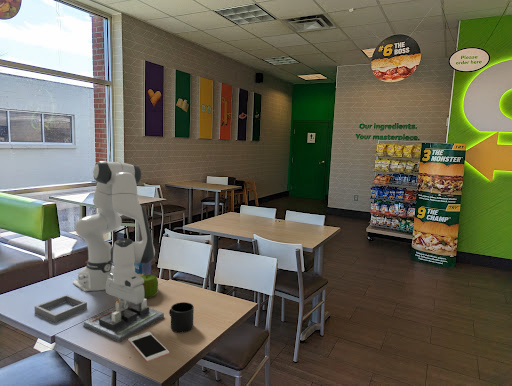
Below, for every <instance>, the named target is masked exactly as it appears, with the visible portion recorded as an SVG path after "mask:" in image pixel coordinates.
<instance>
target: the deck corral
mask: <svg viewBox="0 0 512 386" xmlns="http://www.w3.org/2000/svg"><path fill="white" fill-rule="evenodd" d="M64 303H68V304H71V305H73V306H72V307H70V308H67V309H65V310H62V311H60V312H57V313H55V312H52V311H50V310H49V309H51V307H52V308H53V307H56V306H59V305H61V304H64ZM48 308H49V309H48ZM87 309H88V302H86V301H84V300H81V299H79V298H77V297H74V296H71V295H69V294H65V295H62V296H60V297H57V298H54V299H51V300H48V301H46V302H43V303H40V304H38V305H35V306H34V313H35V314H36V313H37V315H38V314H39V316H41V317H43V318H45V319H47V320H49V321H52V322H53V323H57V322H59V321H61V320H63V319H66V318H68V317H71V316H73V315H75V314H78V313H80V312H82V311H85V310H87Z"/></svg>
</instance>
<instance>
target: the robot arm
mask: <svg viewBox="0 0 512 386" xmlns="http://www.w3.org/2000/svg"><path fill="white" fill-rule="evenodd" d="M92 173H93V174H92V175H93V178H94V180H95V181H96V182H97V183H96V186H95V191H94V194H93V199H92V203H93V205H94V206H95V207H96V208H97V209H98V211H97V212H96V214H91V215H86V216H84V217H82V218H80V219H78V220H77V221H76V223H75V227H74V228H75V232H76V234H77V235H78V236H79V237H80V238H82V239H83V240H84V241H85V243H86V245H87V246H86V247H87V255H88V259H87V260H86V261H85V264H86V265H85V267H84V268H83V269H81V270H80V271H79V272H78V275H77V279H75V280H73V282H72V285H74V286H76V287H77V288H79V289H80V290H82V291H84V292H90V291H104V290H105V293H106V294H107V295H110V296H112V297H115V298H117V299H118V300H119V302H120V304H121V308H123V309H127V308H128V304H129V302H132V303H135V304H139V303H141V302H143V300H144V299H145V298H144V286H143V285H142V283H144V279H143V278H142V277H141V276H139V275H138V274H137V273H136V272H135V267H134V263H149V262H150V261H151V262H152V261H153V260H154V259H155V255H156V251H155V246H154V244H153V240H152V233H151V230H150V225H149V220H148V215H147V211H146V210H145V207H144V206H142V205H141V203H140V202H139V200H138V186H137V185H138V184H139V183H140V182H141V180H142V169H141V168H140V167H139V165H137V164H130V163H126V162H121V161H118V162H117V161H107V160H100V161H98V162H96V163H95V164H94V167H93V170H92ZM120 215H122V216H125V217H127V218H130V219H133V220H135V221H136V222H137V223H138V224H139V228H140V229H139V230H140V234H141V240H140V241H138V242H137V241H133V240H132V239H130V238H119V239H117V240H116V241H115V242H114V244H113V245H112V246H111V244H110V242H108V241H107V240H105V237H104V235H105V234H108V233H112V232H114V231H116V230H117V229H119V228H120V227H121V226H122V222H123V221H122V220H123V219H122V217H121V216H120Z"/></svg>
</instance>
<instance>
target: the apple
mask: <svg viewBox="0 0 512 386" xmlns="http://www.w3.org/2000/svg"><path fill="white" fill-rule="evenodd" d="M141 277H142V278H143V279H144V283H142V285H143V286H144V299H149V298H153V297H154V296H155V295H157V294H158V290H159V289H158V288H159V280H158V277H157V276H156V275H154V274H151V275H143V276H141Z"/></svg>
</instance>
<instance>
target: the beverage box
mask: <svg viewBox="0 0 512 386" xmlns="http://www.w3.org/2000/svg"><path fill="white" fill-rule="evenodd" d="M136 242H139V241H138V240H137V241H136ZM134 267H135V272H136V273H137V274H138V275H139V276H143V275H152V261H150V262H149V263H134Z"/></svg>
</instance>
